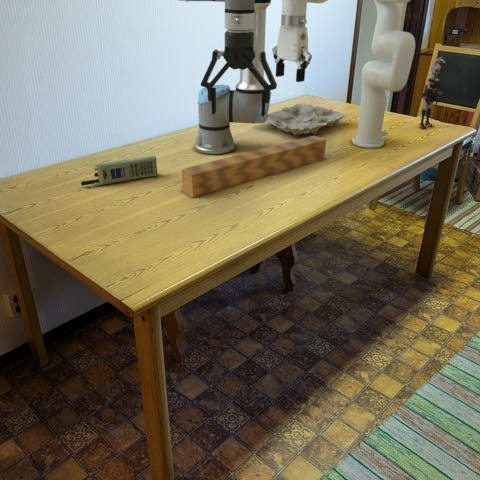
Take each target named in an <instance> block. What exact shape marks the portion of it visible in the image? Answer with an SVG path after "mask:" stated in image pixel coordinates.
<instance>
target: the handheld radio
mask: <svg viewBox="0 0 480 480" xmlns="http://www.w3.org/2000/svg"><path fill="white" fill-rule="evenodd" d="M157 164H158V163H157V156H156V155H147V156H141V157H140V156H139V157H134V158H127V159H121V160H115V161H108V162H101V163H96V164H93V167H94V168H93V171H97V172H95V173H94V174H93V175H94V177H96V179H90V180H83V181H82V180H81V181H80V185H81V186H88V185H93V184H94V185H96V186H97V187H98V186H99V187H100V186H105V185H109V184H115V183H121V182H128V181H134V180H139V179H144V178H151V177H156V176H158V175H159V174H158V165H157Z"/></svg>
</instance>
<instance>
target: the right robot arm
mask: <svg viewBox="0 0 480 480" xmlns="http://www.w3.org/2000/svg"><path fill="white" fill-rule="evenodd" d="M327 1H328V0H281V17H280V19H281V20H280V26H279V31H278V35H277V43H276V44H277V45H275V46H273V47H272V48H271V50H272V56H273V59H274V63H275V77H276V78H278V77H279V78H280V77H284V76H285V66H286V65H285V61H289V62H294V63H295V64H296V66H297V68H296V73H295V74H296V75H295V82H296V83H302V82H305V77H306V69H307V68H308V66H309V65H310V62H311V60H312V58H313V54H312V53H311V52H309V34H308V33H309V31H308V27H306V25H307V22H308V20H307V10H308V9H307V7H308V3H310V4H324V3H325V2H327ZM410 1H411V0H373V2H374V5H375V7H376V22H375V27H374V31H373V36H372V41H371V52H372V54H373V55H375V56H377V57H380V58H386V59H391V60H392V62H390V61H384V60H378V59H375V60H374V59H373V60H369V61H367V62H366V63H364V65H363V67H362V69H361V74H360V75H361V76H360V77H361V79H360V81H361V97H360V104H359V112H358V118H357V119H358V120H357V127H356V135H355V136H354V137H352V138H351V143H352V144H353V145H355V146H357V147H359V148H367V149H377V148H380V147H384V145H385V141H384V139H383V137H384V136H387V135H388V134H389V133H388V131H387V130H383V125H384V119H385V113H386V105H387V93H386V91H389V92H394V93H395V92H396V93H397V92H400V91H402V90H403V89H404V88H405V87H406V85H407V82H408V80H409V75H410V71H411V68H412V63H413V61H414V56H415V50H416V39H415V37H414V35H413V34H412V33H411V32H408V31H402V30H400V28H401V22H402V15H403V13H402V8H401V5H400V4H406V3H409V2H410Z"/></svg>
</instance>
